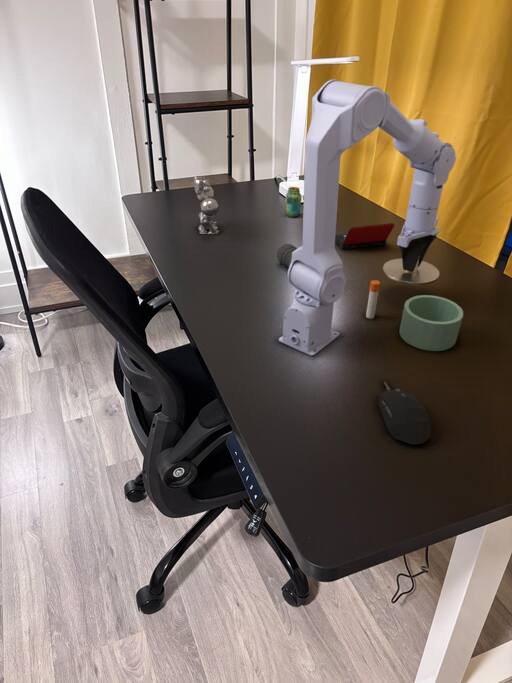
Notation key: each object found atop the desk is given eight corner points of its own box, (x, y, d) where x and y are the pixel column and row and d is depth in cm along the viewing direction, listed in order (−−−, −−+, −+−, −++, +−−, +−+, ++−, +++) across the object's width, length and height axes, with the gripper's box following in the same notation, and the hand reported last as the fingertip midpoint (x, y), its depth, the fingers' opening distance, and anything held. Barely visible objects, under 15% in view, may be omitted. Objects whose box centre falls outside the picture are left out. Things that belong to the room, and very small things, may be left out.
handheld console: (373, 234, 139) (377, 208, 135) (391, 250, 131) (396, 223, 127) (331, 239, 137) (333, 212, 133) (346, 255, 128) (350, 227, 124)
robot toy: (223, 241, 135) (221, 186, 127) (200, 243, 134) (197, 187, 126) (215, 221, 147) (213, 169, 139) (194, 223, 146) (191, 171, 137)
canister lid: (424, 293, 100) (428, 272, 98) (372, 276, 106) (375, 256, 104) (447, 273, 108) (451, 253, 105) (397, 258, 114) (400, 239, 111)
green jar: (282, 213, 152) (283, 187, 148) (295, 211, 154) (296, 185, 150) (289, 218, 149) (290, 191, 145) (303, 216, 151) (304, 189, 146)
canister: (442, 358, 92) (449, 330, 88) (389, 337, 97) (394, 310, 94) (464, 333, 98) (471, 307, 95) (413, 315, 104) (419, 289, 101)
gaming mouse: (402, 382, 86) (406, 363, 84) (437, 445, 74) (442, 426, 71) (366, 384, 85) (369, 366, 83) (395, 449, 73) (399, 429, 71)
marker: (371, 320, 102) (377, 285, 98) (363, 316, 103) (368, 282, 99) (376, 316, 104) (381, 281, 99) (368, 313, 105) (373, 279, 100)
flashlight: (274, 264, 124) (274, 243, 121) (293, 260, 126) (294, 239, 123) (305, 290, 112) (306, 268, 109) (326, 286, 114) (327, 264, 111)
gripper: (427, 219, 92) (413, 286, 99) (457, 199, 101) (443, 261, 109) (392, 211, 95) (381, 275, 103) (424, 192, 105) (412, 252, 112)
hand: (411, 267), depth 106 cm, fingers closed on canister lid, 2 cm apart
